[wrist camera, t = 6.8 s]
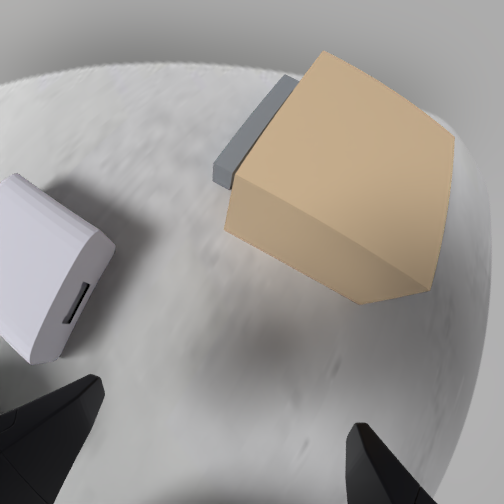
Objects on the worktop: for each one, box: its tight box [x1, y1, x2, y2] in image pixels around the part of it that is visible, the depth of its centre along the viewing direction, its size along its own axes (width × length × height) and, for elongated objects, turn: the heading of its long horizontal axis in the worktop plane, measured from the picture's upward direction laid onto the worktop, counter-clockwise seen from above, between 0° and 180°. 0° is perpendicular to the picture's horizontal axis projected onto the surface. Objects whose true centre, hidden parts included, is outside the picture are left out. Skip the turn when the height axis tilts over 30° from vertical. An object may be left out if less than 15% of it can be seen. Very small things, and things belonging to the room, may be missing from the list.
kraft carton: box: [224, 51, 455, 305], centre depth 18 cm, size 12×11×8 cm
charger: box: [0, 173, 116, 365], centre depth 15 cm, size 5×9×15 cm
